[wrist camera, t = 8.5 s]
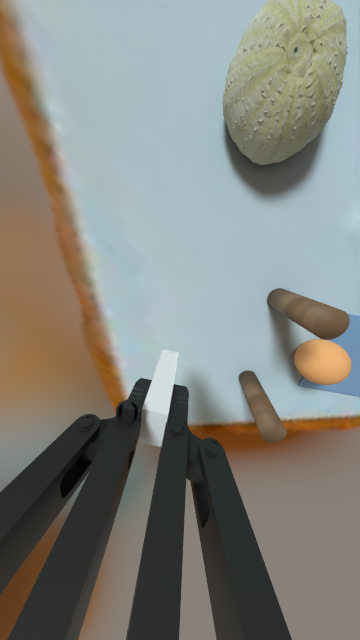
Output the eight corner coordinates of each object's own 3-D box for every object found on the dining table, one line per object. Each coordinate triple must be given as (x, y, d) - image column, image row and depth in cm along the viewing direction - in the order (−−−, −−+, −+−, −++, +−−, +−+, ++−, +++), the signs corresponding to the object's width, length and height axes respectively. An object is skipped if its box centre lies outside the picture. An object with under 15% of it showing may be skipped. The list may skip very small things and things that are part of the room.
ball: (300, 327, 24) (349, 341, 22) (285, 361, 26) (329, 376, 24) (309, 342, 19) (373, 361, 17) (289, 382, 21) (345, 403, 19)
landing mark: (426, 328, 22) (428, 329, 22) (374, 398, 27) (375, 399, 27) (336, 312, 22) (338, 312, 22) (298, 384, 27) (299, 385, 26)
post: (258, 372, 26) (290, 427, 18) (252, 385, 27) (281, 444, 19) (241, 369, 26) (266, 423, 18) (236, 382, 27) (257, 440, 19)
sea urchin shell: (248, 191, 17) (248, 54, 10) (218, 158, 20) (202, 39, 14) (351, 134, 15) (437, -84, 8) (298, 108, 19) (326, -59, 12)
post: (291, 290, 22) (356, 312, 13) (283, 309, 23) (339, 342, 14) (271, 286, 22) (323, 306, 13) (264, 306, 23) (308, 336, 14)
